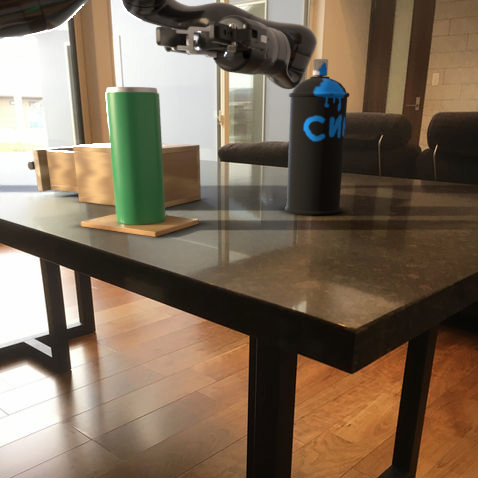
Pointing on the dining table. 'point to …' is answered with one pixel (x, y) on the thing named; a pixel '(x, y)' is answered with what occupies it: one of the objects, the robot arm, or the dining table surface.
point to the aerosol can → (316, 144)
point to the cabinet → (174, 172)
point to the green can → (136, 154)
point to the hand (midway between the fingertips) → (184, 33)
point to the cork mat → (148, 230)
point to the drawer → (55, 169)
